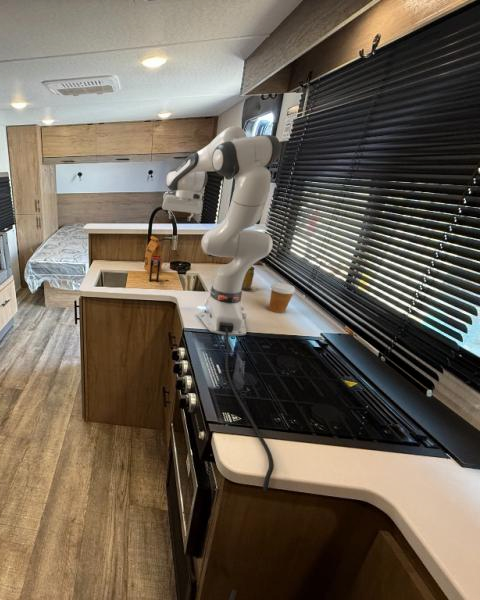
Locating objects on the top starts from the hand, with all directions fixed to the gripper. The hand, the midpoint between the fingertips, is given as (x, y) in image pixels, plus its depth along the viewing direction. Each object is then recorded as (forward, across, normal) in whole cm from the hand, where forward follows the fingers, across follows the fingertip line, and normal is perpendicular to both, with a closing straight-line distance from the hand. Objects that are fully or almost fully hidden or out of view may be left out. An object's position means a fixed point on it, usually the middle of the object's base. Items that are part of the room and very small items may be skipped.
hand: (179, 219), depth 164 cm
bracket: (+36, -7, -9) cm, 37 cm away
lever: (+22, -8, -12) cm, 26 cm away
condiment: (+33, +42, -2) cm, 54 cm away
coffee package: (+39, -10, +10) cm, 41 cm away
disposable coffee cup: (+29, +52, -28) cm, 65 cm away
